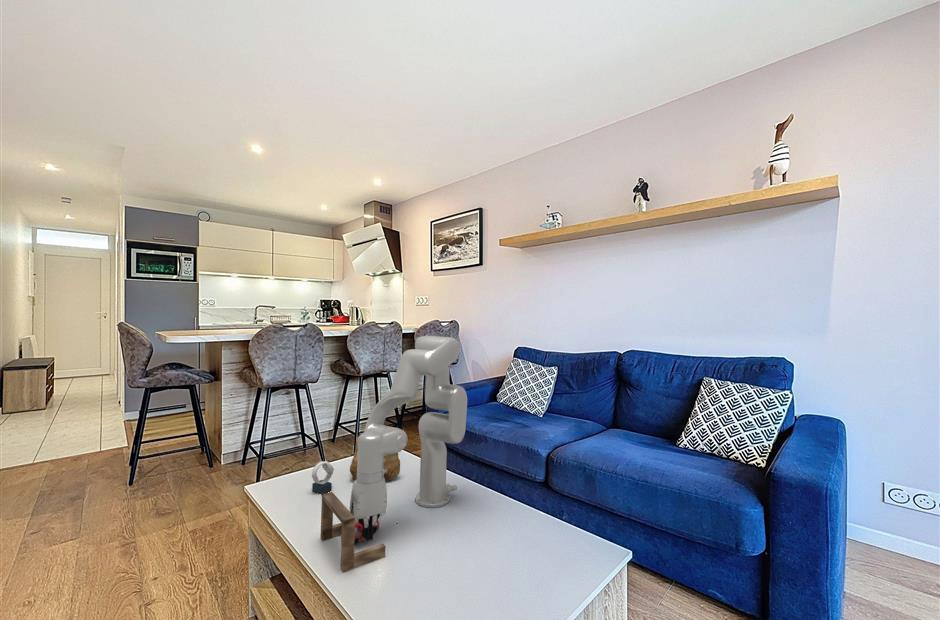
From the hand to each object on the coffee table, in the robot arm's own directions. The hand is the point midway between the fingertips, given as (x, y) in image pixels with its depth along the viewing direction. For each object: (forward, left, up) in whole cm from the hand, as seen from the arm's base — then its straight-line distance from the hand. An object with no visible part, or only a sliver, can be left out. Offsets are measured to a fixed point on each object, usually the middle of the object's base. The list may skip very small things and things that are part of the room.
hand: (367, 538), depth 117 cm
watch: (+1, -42, -2) cm, 42 cm away
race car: (0, -5, -2) cm, 5 cm away
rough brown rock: (-19, -45, -2) cm, 49 cm away
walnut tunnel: (+5, 0, -1) cm, 5 cm away
